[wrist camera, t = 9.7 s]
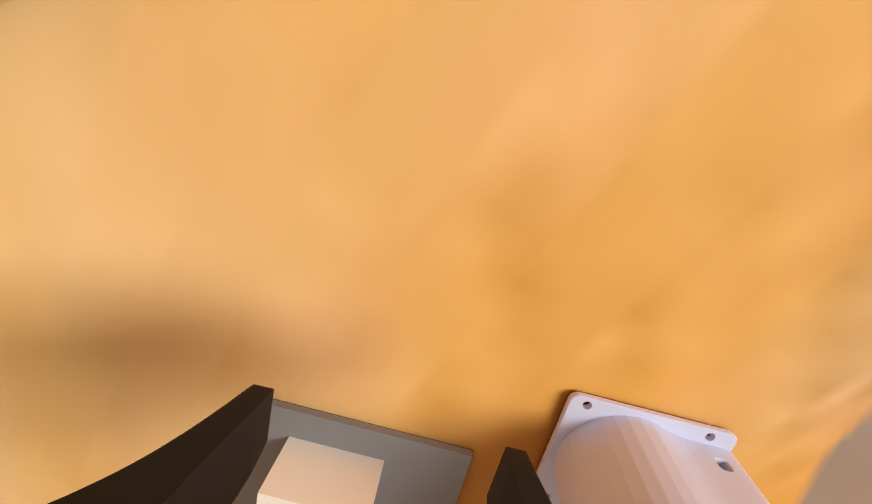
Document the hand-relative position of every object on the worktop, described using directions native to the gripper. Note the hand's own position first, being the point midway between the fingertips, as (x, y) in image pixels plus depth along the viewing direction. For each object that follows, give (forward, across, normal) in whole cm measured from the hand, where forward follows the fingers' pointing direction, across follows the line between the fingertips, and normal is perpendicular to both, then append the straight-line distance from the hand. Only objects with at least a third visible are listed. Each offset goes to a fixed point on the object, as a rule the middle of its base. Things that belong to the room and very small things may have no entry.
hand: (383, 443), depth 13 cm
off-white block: (+10, +3, +14) cm, 18 cm away
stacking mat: (+10, +2, +14) cm, 18 cm away
